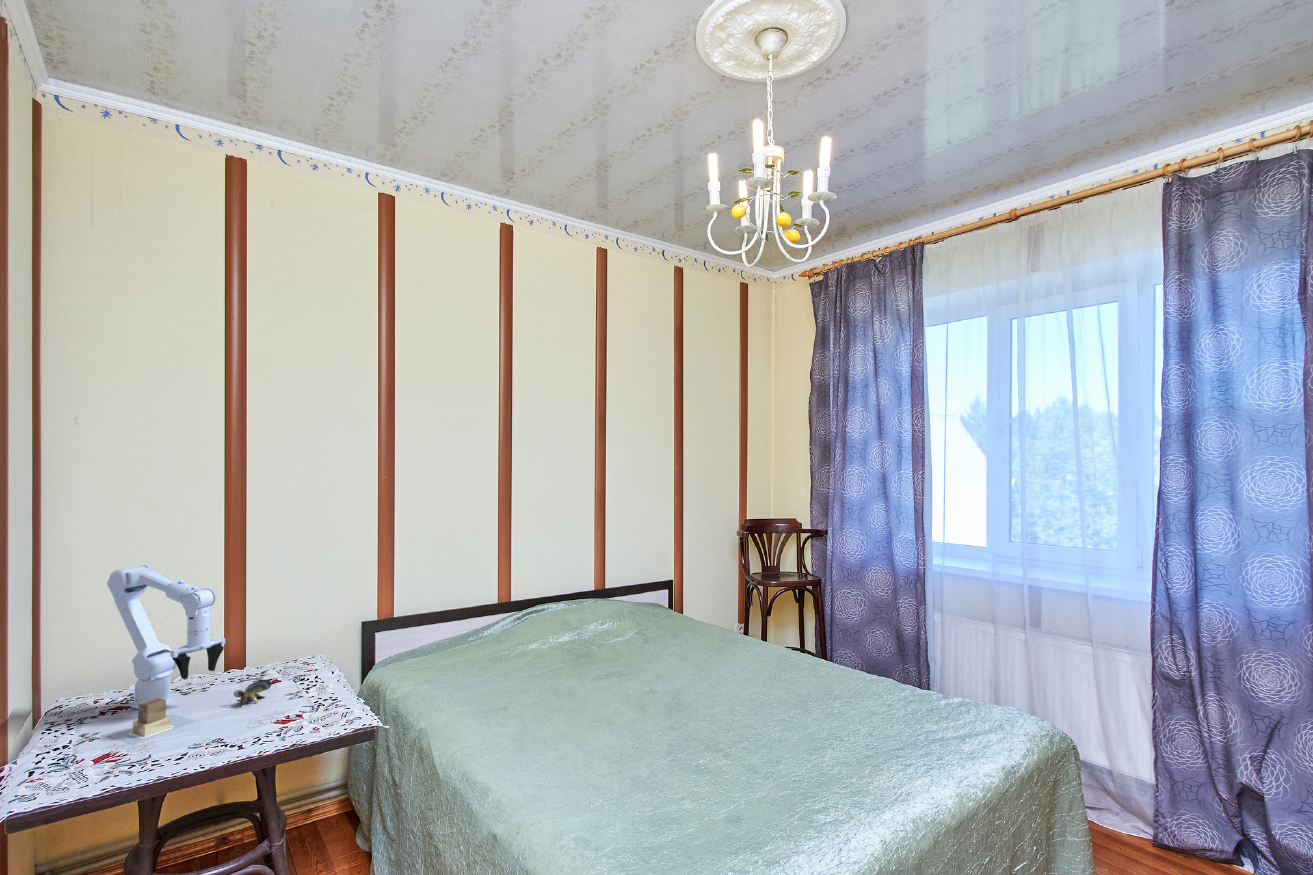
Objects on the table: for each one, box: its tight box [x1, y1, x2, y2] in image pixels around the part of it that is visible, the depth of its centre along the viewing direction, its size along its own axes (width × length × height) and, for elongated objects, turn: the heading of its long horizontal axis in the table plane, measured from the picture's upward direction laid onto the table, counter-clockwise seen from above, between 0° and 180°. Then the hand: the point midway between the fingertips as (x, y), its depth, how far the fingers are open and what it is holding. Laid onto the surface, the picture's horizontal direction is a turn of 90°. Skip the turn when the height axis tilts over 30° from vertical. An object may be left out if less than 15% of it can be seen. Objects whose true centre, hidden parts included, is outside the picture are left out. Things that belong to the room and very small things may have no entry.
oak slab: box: [132, 715, 170, 737], centre depth 174 cm, size 6×6×3 cm
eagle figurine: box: [232, 679, 273, 708], centre depth 196 cm, size 8×7×9 cm
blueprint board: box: [107, 713, 197, 745], centre depth 176 cm, size 12×16×1 cm
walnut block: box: [137, 698, 167, 724], centre depth 174 cm, size 4×4×5 cm
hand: (198, 674), depth 191 cm, fingers open, 7 cm apart
